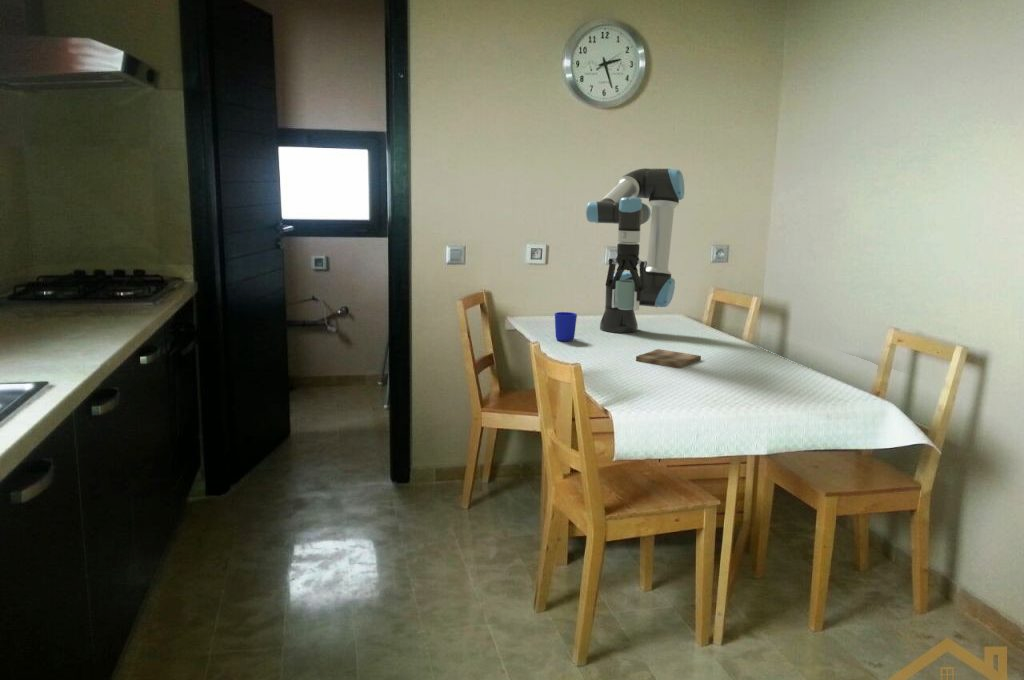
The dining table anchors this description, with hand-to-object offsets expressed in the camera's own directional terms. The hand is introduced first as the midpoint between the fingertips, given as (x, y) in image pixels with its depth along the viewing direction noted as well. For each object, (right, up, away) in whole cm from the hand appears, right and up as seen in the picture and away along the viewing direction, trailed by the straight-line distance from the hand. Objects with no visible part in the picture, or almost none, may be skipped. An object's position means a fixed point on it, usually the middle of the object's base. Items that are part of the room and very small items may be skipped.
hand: (625, 308), depth 279 cm
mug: (-20, -11, +22) cm, 31 cm away
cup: (0, -1, 0) cm, 1 cm away
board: (+13, -18, -11) cm, 24 cm away
